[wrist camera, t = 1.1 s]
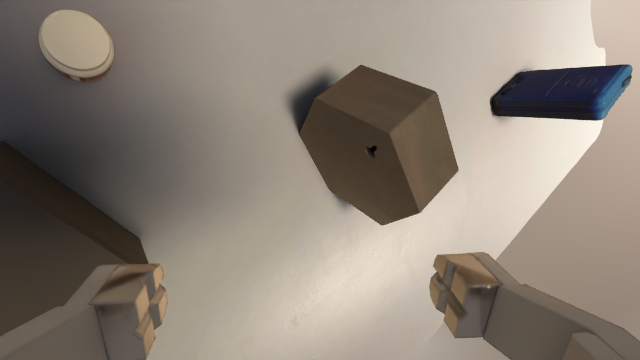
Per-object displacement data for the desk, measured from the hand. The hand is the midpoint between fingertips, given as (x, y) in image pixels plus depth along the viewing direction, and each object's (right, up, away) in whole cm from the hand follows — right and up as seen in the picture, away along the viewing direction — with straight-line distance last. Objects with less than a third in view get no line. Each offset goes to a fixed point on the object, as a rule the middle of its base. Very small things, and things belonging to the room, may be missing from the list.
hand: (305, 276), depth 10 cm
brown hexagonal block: (+2, +8, +38) cm, 39 cm away
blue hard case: (+43, +23, +64) cm, 80 cm away
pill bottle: (-22, +14, +20) cm, 33 cm away
